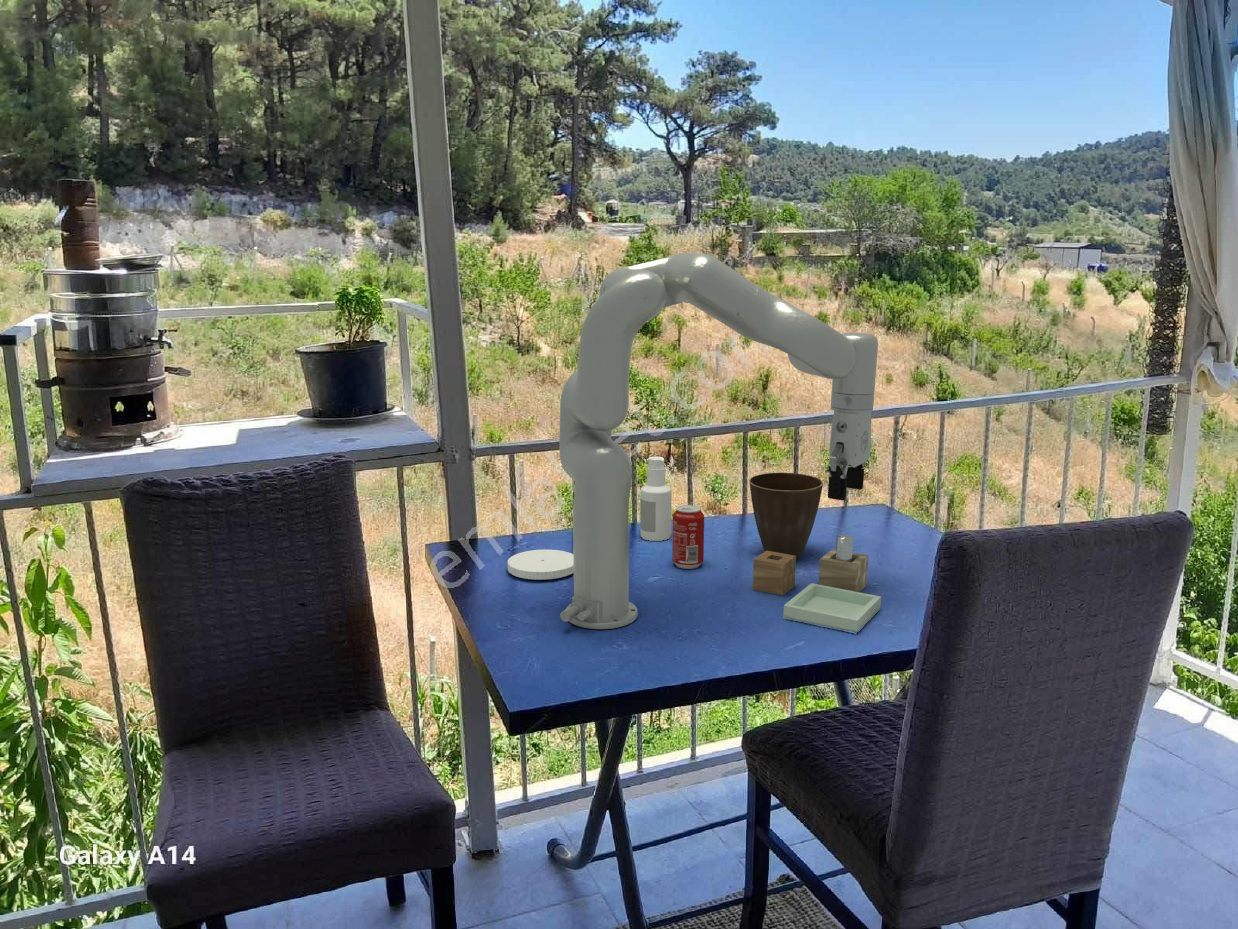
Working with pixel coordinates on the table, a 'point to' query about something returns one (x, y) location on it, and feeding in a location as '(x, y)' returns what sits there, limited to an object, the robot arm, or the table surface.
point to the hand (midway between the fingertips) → (845, 493)
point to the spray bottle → (655, 503)
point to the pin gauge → (844, 548)
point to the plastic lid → (541, 564)
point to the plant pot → (785, 510)
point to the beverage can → (688, 537)
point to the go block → (843, 572)
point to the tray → (832, 607)
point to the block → (774, 572)
